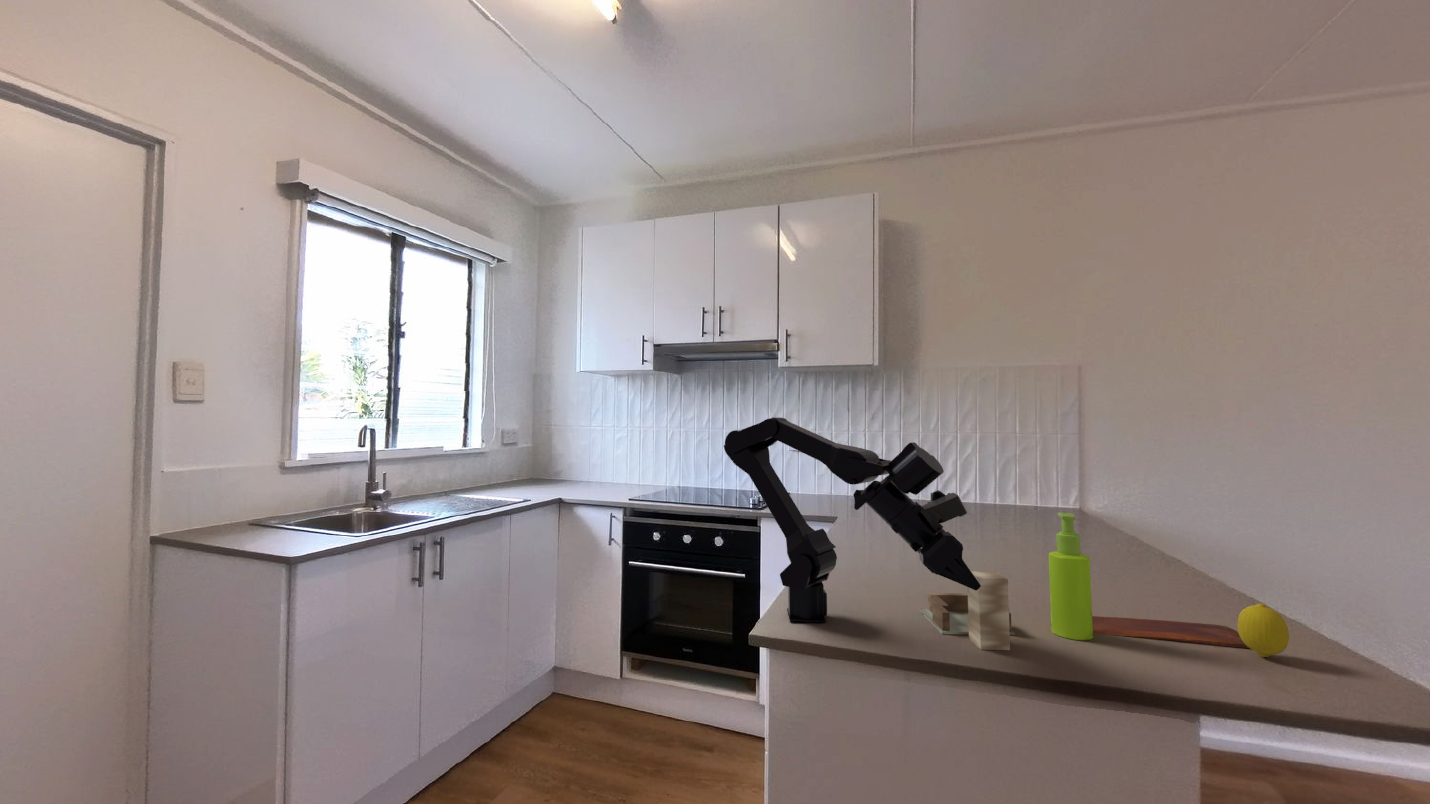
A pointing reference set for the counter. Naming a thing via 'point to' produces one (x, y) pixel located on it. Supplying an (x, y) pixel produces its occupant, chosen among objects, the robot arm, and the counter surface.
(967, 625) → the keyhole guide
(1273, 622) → the lemon
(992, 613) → the birch post
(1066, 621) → the soap dispenser
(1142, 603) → the counter surface
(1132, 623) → the wooden tablet
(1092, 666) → the counter surface
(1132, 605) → the counter surface
